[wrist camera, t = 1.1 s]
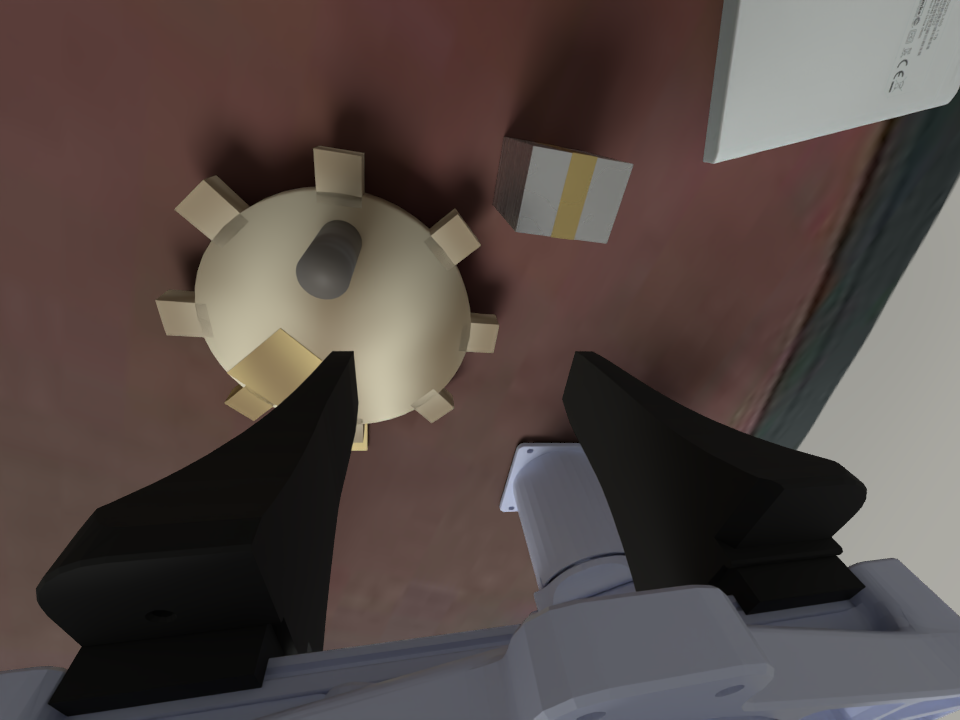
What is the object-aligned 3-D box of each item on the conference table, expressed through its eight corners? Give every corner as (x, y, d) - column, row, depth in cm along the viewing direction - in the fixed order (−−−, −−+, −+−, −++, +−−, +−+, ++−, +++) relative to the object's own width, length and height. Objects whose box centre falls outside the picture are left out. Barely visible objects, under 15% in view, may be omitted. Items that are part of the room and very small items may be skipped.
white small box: (583, 150, 18) (634, 163, 14) (565, 215, 20) (606, 244, 16) (503, 136, 18) (533, 145, 13) (492, 204, 19) (515, 232, 15)
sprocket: (522, 178, 18) (561, 203, 13) (471, 430, 26) (484, 496, 22) (116, 112, 14) (-16, 116, 10) (210, 427, 23) (162, 506, 18)
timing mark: (367, 415, 25) (367, 418, 25) (367, 447, 27) (367, 450, 27) (336, 414, 25) (335, 418, 25) (337, 447, 26) (337, 450, 26)
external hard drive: (722, -61, 15) (1012, -132, 16) (695, 161, 20) (919, 105, 20) (751, -76, 14) (1069, -154, 14) (716, 165, 19) (955, 105, 19)
